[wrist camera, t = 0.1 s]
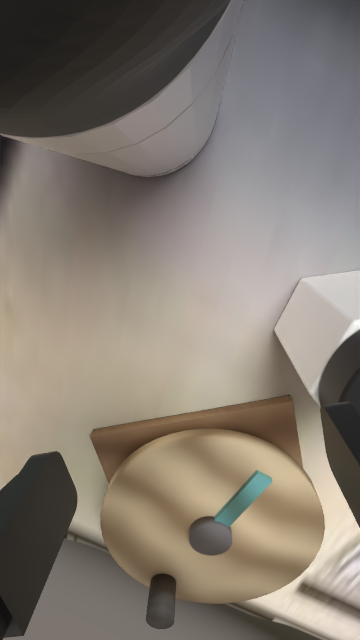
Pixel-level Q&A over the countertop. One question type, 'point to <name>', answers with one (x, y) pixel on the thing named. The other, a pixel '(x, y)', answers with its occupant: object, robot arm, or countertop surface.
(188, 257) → the countertop surface
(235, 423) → the mount
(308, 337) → the jar
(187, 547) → the handwheel
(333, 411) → the robot arm
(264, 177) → the countertop surface
